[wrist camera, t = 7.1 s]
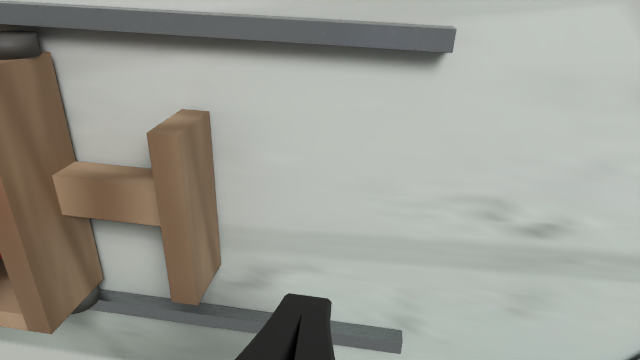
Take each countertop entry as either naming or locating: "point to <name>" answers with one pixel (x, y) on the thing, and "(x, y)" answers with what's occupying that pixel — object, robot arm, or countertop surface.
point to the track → (247, 30)
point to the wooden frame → (90, 198)
